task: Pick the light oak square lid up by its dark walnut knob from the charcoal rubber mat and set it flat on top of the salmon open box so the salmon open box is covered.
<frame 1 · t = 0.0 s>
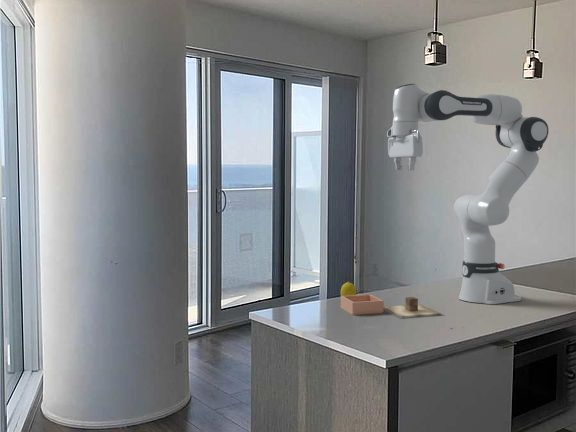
hand: (404, 170, 221), 48 cm above the worktop, tool pointing down, fingers open, 8 cm apart
lid: (411, 311, 209), point 1 cm above the worktop, touching mat
mat: (411, 314, 209), on the worktop
lemon: (348, 304, 226), on the worktop
salmon open box: (361, 312, 211), on the worktop
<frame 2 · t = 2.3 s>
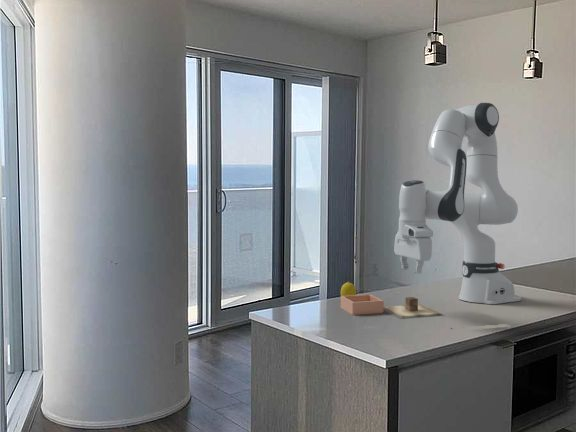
hand: (411, 271, 207), 15 cm above the worktop, tool pointing down, fingers open, 8 cm apart
nothing on the worktop moved.
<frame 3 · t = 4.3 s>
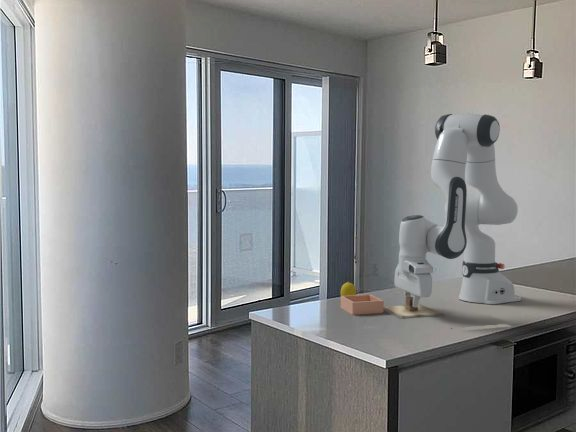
hand: (411, 305, 209), 3 cm above the worktop, tool pointing down, fingers closed on lid, 3 cm apart
lid: (411, 311, 209), point 1 cm above the worktop, touching gripper, mat
everything else where it was.
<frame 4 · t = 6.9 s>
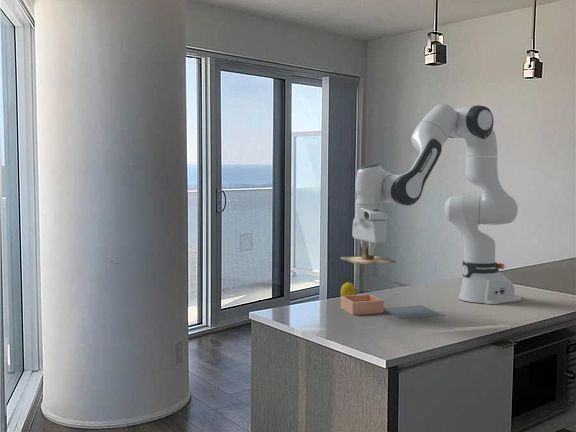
hand: (368, 254, 209), 20 cm above the worktop, tool pointing down, fingers closed on lid, 3 cm apart
lid: (367, 260, 209), point 18 cm above the worktop, touching gripper
everything else where it was.
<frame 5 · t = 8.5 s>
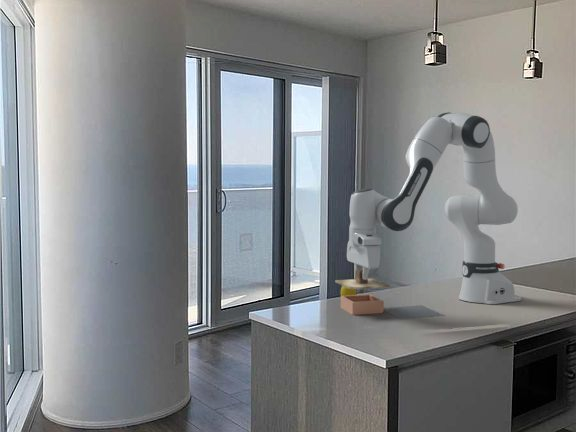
hand: (362, 278, 210), 12 cm above the worktop, tool pointing down, fingers closed on lid, 3 cm apart
lid: (361, 284, 210), point 10 cm above the worktop, touching gripper
everything else where it was.
when the fingers open (9 cm above the worktop, at t = 9.8 s): lid drops 1 cm, resting on salmon open box.
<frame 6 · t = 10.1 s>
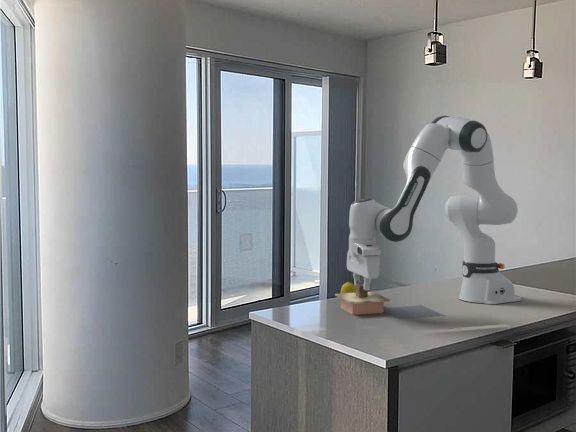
hand: (361, 287, 211), 9 cm above the worktop, tool pointing down, fingers open, 6 cm apart
lid: (361, 298, 211), point 5 cm above the worktop, touching salmon open box
everything else where it was.
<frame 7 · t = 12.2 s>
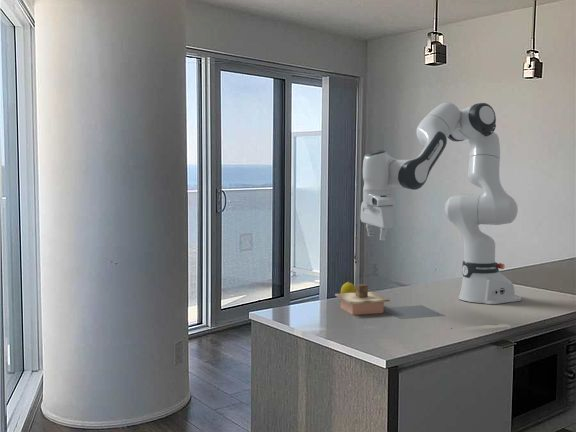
hand: (376, 238, 216), 25 cm above the worktop, tool pointing down, fingers open, 8 cm apart
nothing on the worktop moved.
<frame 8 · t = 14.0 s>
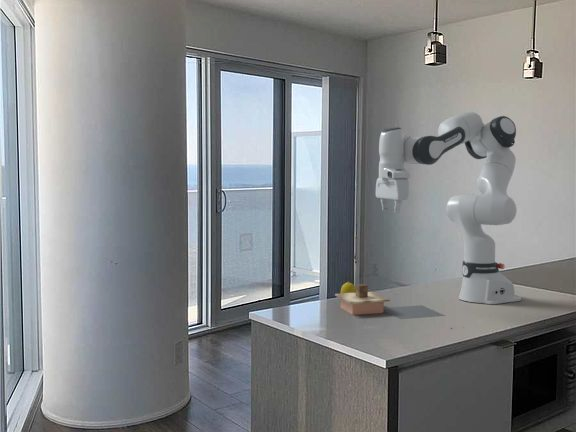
hand: (390, 211, 225), 33 cm above the worktop, tool pointing down, fingers open, 8 cm apart
nothing on the worktop moved.
at the end: lid 0.0 cm off-centre on the salmon open box, point 5.0 cm above the salmon open box's base; lid tilted 0°; the gripper is holding nothing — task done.
